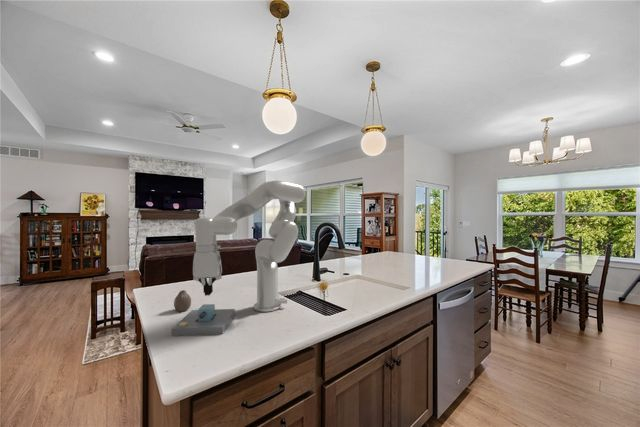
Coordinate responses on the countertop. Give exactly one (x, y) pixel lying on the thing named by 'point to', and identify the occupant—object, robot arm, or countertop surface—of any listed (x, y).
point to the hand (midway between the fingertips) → (208, 294)
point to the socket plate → (204, 323)
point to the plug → (206, 312)
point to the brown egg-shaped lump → (182, 301)
